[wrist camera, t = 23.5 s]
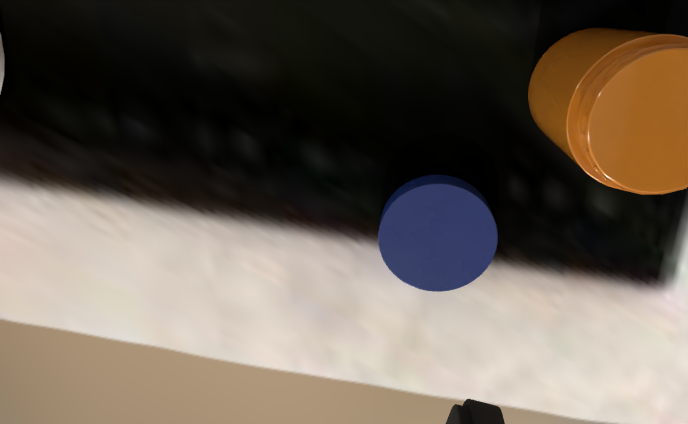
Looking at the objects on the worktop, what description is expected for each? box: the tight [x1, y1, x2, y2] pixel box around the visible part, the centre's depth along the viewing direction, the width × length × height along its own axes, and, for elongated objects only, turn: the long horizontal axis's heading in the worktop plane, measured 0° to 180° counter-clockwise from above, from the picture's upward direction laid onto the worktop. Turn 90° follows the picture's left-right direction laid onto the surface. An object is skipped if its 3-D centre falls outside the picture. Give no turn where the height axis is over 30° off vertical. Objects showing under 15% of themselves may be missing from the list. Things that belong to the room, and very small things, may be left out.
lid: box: [378, 175, 498, 291], centre depth 32 cm, size 7×7×2 cm
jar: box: [528, 28, 688, 194], centre depth 25 cm, size 6×6×10 cm
